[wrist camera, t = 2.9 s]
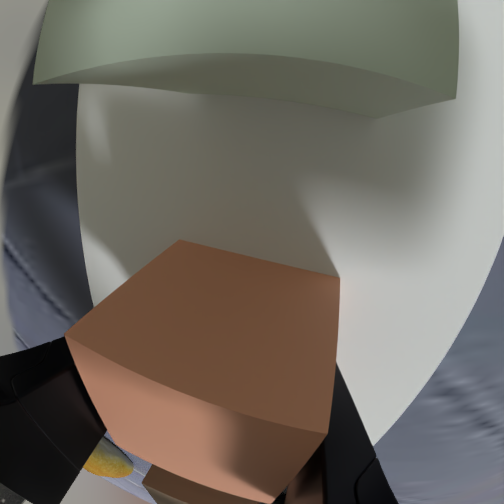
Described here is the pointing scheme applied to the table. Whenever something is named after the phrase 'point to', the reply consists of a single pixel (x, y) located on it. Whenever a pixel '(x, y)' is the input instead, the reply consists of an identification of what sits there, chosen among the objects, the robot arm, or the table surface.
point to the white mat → (315, 203)
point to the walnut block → (185, 490)
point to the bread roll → (108, 461)
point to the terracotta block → (215, 366)
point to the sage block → (260, 49)
